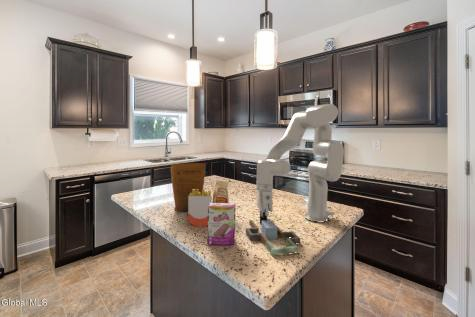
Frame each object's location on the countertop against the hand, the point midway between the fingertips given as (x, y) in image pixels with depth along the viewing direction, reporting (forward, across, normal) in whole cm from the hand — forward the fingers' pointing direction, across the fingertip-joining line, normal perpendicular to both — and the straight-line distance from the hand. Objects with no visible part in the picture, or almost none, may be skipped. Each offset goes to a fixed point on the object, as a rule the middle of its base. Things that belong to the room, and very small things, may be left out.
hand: (263, 224), depth 115 cm
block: (+2, -7, 0) cm, 7 cm away
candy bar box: (+2, -11, +22) cm, 25 cm away
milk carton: (+2, +22, +17) cm, 28 cm away
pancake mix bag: (+2, +33, +34) cm, 47 cm away
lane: (+2, -9, 0) cm, 9 cm away
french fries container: (+2, +11, +29) cm, 31 cm away
